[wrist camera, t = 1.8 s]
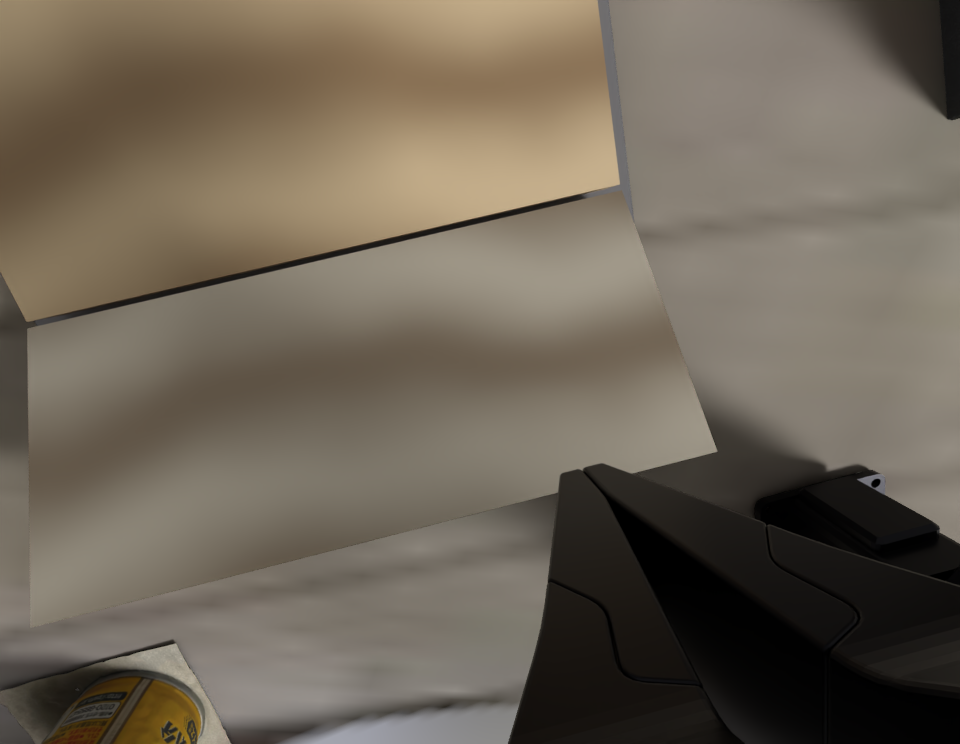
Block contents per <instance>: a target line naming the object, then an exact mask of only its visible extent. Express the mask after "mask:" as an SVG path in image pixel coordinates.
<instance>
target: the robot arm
mask: <svg viewBox="0 0 960 744" xmlns="http://www.w3.org/2000/svg"><path fill="white" fill-rule="evenodd" d="M768 507H769V508H768ZM767 508H768V509H767ZM766 509H767V510H766ZM939 530H940V528H939V526H938V525H937V524H935V523H934V522H932V521H931V520H929V519H927V518H925V517H924V516H922V515H920V514H918V513H916V512H915V511H913V510H911V509H909V508H907V507H906V506H904V505H902V504H900V503H898V502H897V501H895V500H893V499H891V498H889V497H888V496H886V495H885V477H884V476H883V475H882V474H880V473H878V472H876V471H873V470H868V471H864V472H861V473H857V474H853V475H849V476H845V477H841V478H838V479H834V480H830V481H826V482H822V483H819V484H815V485H811V486H807V487H803V488H799V489H796V490H792V491H788V492H784V493H780V494H776V495H773V496H769V497H765V498H762V499H760V500H759V501H758V502H757V503H756V505H755V519H753V518H750V517H748V516H745V515H742V514H740V513H737V512H734V511H732V510H729V509H726V508H723V507H721V506H718V505H715V504H713V503H710V502H707V501H704V500H702V499H699V498H696V497H694V496H691V495H688V494H685V493H683V492H680V491H677V490H675V489H672V488H669V487H666V486H664V485H661V484H658V483H656V482H653V481H650V480H647V479H645V478H642V477H639V476H637V475H634V474H631V473H628V472H626V471H623V470H620V469H618V468H615V467H612V466H610V465H607V464H604V463H599V464H595V465H591V466H587V467H585V468H583V470H580V469H576V470H572V471H568V472H564V473H561V474H560V478H559V487H558V496H557V504H556V513H555V522H554V531H553V539H552V548H551V557H550V566H549V574H548V584H547V589H546V598H545V605H544V611H543V617H542V623H541V629H540V633H539V637H538V641H537V645H536V649H535V653H534V657H533V660H532V663H531V667H530V670H529V674H528V677H527V681H526V684H525V687H524V691H523V694H522V698H521V701H520V704H519V708H518V711H517V715H516V718H515V721H514V725H513V728H512V732H511V735H510V738H509V742H508V744H960V544H959V543H957V542H955V541H954V540H952V539H950V538H948V537H947V536H945V535H943V534H941V533H939Z"/></svg>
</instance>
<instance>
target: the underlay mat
mask: <svg viewBox="0 0 960 744" xmlns="http://www.w3.org/2000/svg"><path fill="white" fill-rule="evenodd" d="M598 8H599V17H600V25H601V33H602V41H603V49H604V57H605V66H606V74H607V82H608V90H609V98H610V107H611V115H612V123H613V131H614V139H615V148H616V156H617V164H618V172H619V180H620V185H616V186H613V187H610V188H607V189H604V190H599V191H595V192H591V193H586V194H582V195H578V196H574V197H569V198H565V199H561V200H556V201H552V202H548V203H543V204H539V205H535V206H530V207H526V208H522V209H518V210H513V211H509V212H505V213H500V214H496V215H492V216H487V217H483V218H479V219H475V220H470V221H466V222H462V223H457V224H453V225H449V226H444V227H440V228H436V229H431V230H427V231H423V232H419V233H414V234H410V235H406V236H401V237H397V238H393V239H388V240H384V241H380V242H375V243H371V244H367V245H363V246H358V247H354V248H350V249H345V250H341V251H337V252H332V253H328V254H324V255H319V256H315V257H311V258H307V259H302V260H298V261H294V262H289V263H285V264H281V265H276V266H272V267H268V268H263V269H259V270H255V271H251V272H246V273H242V274H238V275H233V276H229V277H225V278H220V279H216V280H212V281H207V282H203V283H199V284H195V285H190V286H186V287H182V288H177V289H173V290H169V291H164V292H160V293H156V294H151V295H147V296H143V297H139V298H134V299H130V300H126V301H121V302H117V303H113V304H108V305H104V306H100V307H95V308H91V309H87V310H83V311H78V312H74V313H70V314H65V315H61V316H55V317H50V318H45V319H40V320H35V323H36V325H37V326H40V325H45V324H49V323H53V322H58V321H62V320H66V319H70V318H75V317H79V316H83V315H88V314H92V313H96V312H101V311H105V310H109V309H113V308H118V307H122V306H126V305H131V304H135V303H139V302H143V301H148V300H152V299H156V298H161V297H165V296H169V295H174V294H178V293H182V292H186V291H191V290H195V289H199V288H204V287H208V286H212V285H217V284H221V283H225V282H229V281H234V280H238V279H242V278H247V277H251V276H255V275H260V274H264V273H268V272H272V271H277V270H281V269H285V268H290V267H294V266H298V265H303V264H307V263H311V262H315V261H320V260H324V259H328V258H333V257H337V256H341V255H346V254H350V253H354V252H358V251H363V250H367V249H371V248H376V247H380V246H384V245H389V244H393V243H397V242H401V241H406V240H410V239H414V238H419V237H423V236H427V235H432V234H436V233H440V232H444V231H449V230H453V229H457V228H462V227H466V226H470V225H475V224H479V223H483V222H487V221H492V220H496V219H500V218H505V217H509V216H513V215H518V214H522V213H526V212H530V211H535V210H539V209H543V208H548V207H552V206H556V205H561V204H565V203H569V202H573V201H578V200H582V199H586V198H591V197H595V196H599V195H604V194H608V193H612V192H616V191H621V190H622V192H623V195H624V197H625V200H626V203H627V205H628V208H629V211H630V214H631V216H632V219H633V222H634V216H633V208H632V199H631V190H630V182H629V173H628V164H627V156H626V147H625V139H624V130H623V121H622V113H621V104H620V96H619V87H618V78H617V70H616V61H615V53H614V44H613V35H612V27H611V18H610V10H609V1H608V0H598Z"/></svg>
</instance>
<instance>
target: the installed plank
mask: <svg viewBox="0 0 960 744" xmlns="http://www.w3.org/2000/svg"><path fill="white" fill-rule="evenodd" d="M616 185H620V180H619V172H618V164H617V156H616V148H615V139H614V131H613V123H612V115H611V107H610V98H609V90H608V82H607V74H606V66H605V57H604V49H603V41H602V33H601V25H600V17H599V8H598V0H0V272H1V274H2V276H3V278H4V280H5V282H6V283H7V285H8V287H9V289H10V291H11V293H12V295H13V297H14V299H15V301H16V302H17V304H18V306H19V308H20V310H21V312H22V314H23V316H24V318H25V320H26V322H30V321H35V320H40V319H45V318H50V317H55V316H61V315H65V314H70V313H74V312H78V311H83V310H87V309H91V308H95V307H100V306H104V305H108V304H113V303H117V302H121V301H126V300H130V299H134V298H139V297H143V296H147V295H151V294H156V293H160V292H164V291H169V290H173V289H177V288H182V287H186V286H190V285H195V284H199V283H203V282H207V281H212V280H216V279H220V278H225V277H229V276H233V275H238V274H242V273H246V272H251V271H255V270H259V269H263V268H268V267H272V266H276V265H281V264H285V263H289V262H294V261H298V260H302V259H307V258H311V257H315V256H319V255H324V254H328V253H332V252H337V251H341V250H345V249H350V248H354V247H358V246H363V245H367V244H371V243H375V242H380V241H384V240H388V239H393V238H397V237H401V236H406V235H410V234H414V233H419V232H423V231H427V230H431V229H436V228H440V227H444V226H449V225H453V224H457V223H462V222H466V221H470V220H475V219H479V218H483V217H487V216H492V215H496V214H500V213H505V212H509V211H513V210H518V209H522V208H526V207H530V206H535V205H539V204H543V203H548V202H552V201H556V200H561V199H565V198H569V197H574V196H578V195H582V194H586V193H591V192H595V191H599V190H604V189H607V188H610V187H613V186H616Z"/></svg>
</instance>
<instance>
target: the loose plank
mask: <svg viewBox="0 0 960 744" xmlns="http://www.w3.org/2000/svg"><path fill="white" fill-rule="evenodd" d="M27 352H28V444H29V536H30V628H32V627H36V626H40V625H44V624H48V623H52V622H56V621H60V620H63V619H67V618H71V617H75V616H79V615H83V614H87V613H91V612H95V611H99V610H102V609H106V608H110V607H114V606H118V605H122V604H126V603H130V602H134V601H137V600H141V599H145V598H149V597H153V596H157V595H161V594H165V593H169V592H173V591H176V590H180V589H184V588H188V587H192V586H196V585H200V584H204V583H208V582H212V581H215V580H219V579H223V578H227V577H231V576H235V575H239V574H243V573H247V572H251V571H254V570H258V569H262V568H266V567H270V566H274V565H278V564H282V563H286V562H289V561H293V560H297V559H301V558H305V557H309V556H313V555H317V554H321V553H325V552H328V551H332V550H336V549H340V548H344V547H348V546H352V545H356V544H360V543H364V542H367V541H371V540H375V539H379V538H383V537H387V536H391V535H395V534H399V533H403V532H406V531H410V530H414V529H418V528H422V527H426V526H430V525H434V524H438V523H441V522H445V521H449V520H453V519H457V518H461V517H465V516H469V515H473V514H477V513H480V512H484V511H488V510H492V509H496V508H500V507H504V506H508V505H512V504H516V503H519V502H523V501H527V500H531V499H535V498H539V497H543V496H547V495H551V494H555V493H558V487H559V478H560V474H561V473H564V472H568V471H572V470H576V469H580V470H583V468H585V467H587V466H591V465H595V464H599V463H604V464H607V465H610V466H612V467H615V468H618V469H620V470H623V471H626V472H628V473H631V474H632V473H636V472H640V471H644V470H648V469H652V468H656V467H660V466H664V465H668V464H671V463H675V462H679V461H683V460H687V459H691V458H695V457H699V456H703V455H707V454H710V453H714V452H718V451H717V449H716V446H715V443H714V440H713V438H712V435H711V432H710V429H709V427H708V424H707V421H706V418H705V416H704V413H703V410H702V408H701V405H700V402H699V399H698V397H697V394H696V391H695V388H694V386H693V383H692V380H691V378H690V375H689V372H688V369H687V367H686V364H685V361H684V358H683V356H682V353H681V350H680V347H679V345H678V342H677V339H676V337H675V334H674V331H673V328H672V326H671V323H670V320H669V317H668V315H667V312H666V309H665V306H664V304H663V301H662V298H661V296H660V293H659V290H658V287H657V285H656V282H655V279H654V276H653V274H652V271H651V268H650V266H649V263H648V260H647V257H646V255H645V252H644V249H643V246H642V244H641V241H640V238H639V235H638V233H637V230H636V227H635V225H634V222H633V219H632V216H631V214H630V211H629V208H628V205H627V203H626V200H625V197H624V195H623V192H622V190H621V191H616V192H612V193H608V194H604V195H599V196H595V197H591V198H586V199H582V200H578V201H573V202H569V203H565V204H561V205H556V206H552V207H548V208H543V209H539V210H535V211H530V212H526V213H522V214H518V215H513V216H509V217H505V218H500V219H496V220H492V221H487V222H483V223H479V224H475V225H470V226H466V227H462V228H457V229H453V230H449V231H444V232H440V233H436V234H432V235H427V236H423V237H419V238H414V239H410V240H406V241H401V242H397V243H393V244H389V245H384V246H380V247H376V248H371V249H367V250H363V251H358V252H354V253H350V254H346V255H341V256H337V257H333V258H328V259H324V260H320V261H315V262H311V263H307V264H303V265H298V266H294V267H290V268H285V269H281V270H277V271H272V272H268V273H264V274H260V275H255V276H251V277H247V278H242V279H238V280H234V281H229V282H225V283H221V284H217V285H212V286H208V287H204V288H199V289H195V290H191V291H186V292H182V293H178V294H174V295H169V296H165V297H161V298H156V299H152V300H148V301H143V302H139V303H135V304H131V305H126V306H122V307H118V308H113V309H109V310H105V311H101V312H96V313H92V314H88V315H83V316H79V317H75V318H70V319H66V320H62V321H58V322H53V323H49V324H45V325H40V326H36V327H32V328H27Z"/></svg>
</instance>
